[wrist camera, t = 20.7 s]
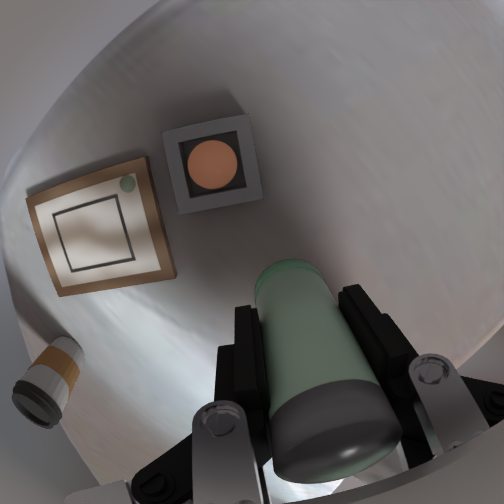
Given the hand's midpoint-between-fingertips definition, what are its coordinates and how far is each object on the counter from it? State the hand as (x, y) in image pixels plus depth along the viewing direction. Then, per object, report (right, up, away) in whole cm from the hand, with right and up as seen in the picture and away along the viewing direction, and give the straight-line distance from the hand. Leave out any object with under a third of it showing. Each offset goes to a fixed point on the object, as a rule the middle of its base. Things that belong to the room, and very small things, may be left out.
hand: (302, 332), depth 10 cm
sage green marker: (0, +1, +2) cm, 3 cm away
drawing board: (-22, +5, +24) cm, 33 cm away
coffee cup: (-32, -14, +31) cm, 47 cm away
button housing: (-6, +13, +22) cm, 26 cm away
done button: (-6, +12, +20) cm, 25 cm away
